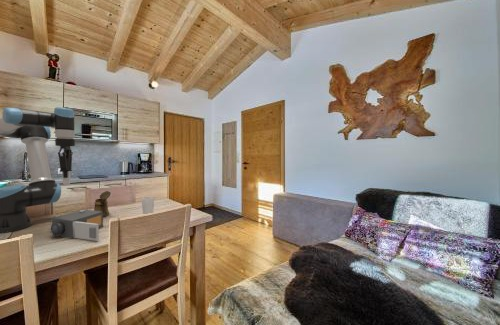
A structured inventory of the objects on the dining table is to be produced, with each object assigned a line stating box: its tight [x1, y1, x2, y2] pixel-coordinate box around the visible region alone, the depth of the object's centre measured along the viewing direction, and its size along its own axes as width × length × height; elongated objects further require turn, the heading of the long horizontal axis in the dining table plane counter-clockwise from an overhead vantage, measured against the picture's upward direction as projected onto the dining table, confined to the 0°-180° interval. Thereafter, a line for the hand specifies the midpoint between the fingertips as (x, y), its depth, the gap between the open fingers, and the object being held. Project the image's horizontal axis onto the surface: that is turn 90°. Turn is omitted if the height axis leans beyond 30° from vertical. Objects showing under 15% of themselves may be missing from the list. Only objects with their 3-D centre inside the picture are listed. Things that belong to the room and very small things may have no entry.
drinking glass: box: [141, 195, 155, 215], centre depth 128 cm, size 7×7×15 cm
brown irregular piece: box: [93, 190, 111, 218], centre depth 135 cm, size 9×14×18 cm, turn 57°
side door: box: [72, 221, 100, 242], centre depth 100 cm, size 2×15×8 cm, turn 78°
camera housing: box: [50, 208, 104, 239], centre depth 110 cm, size 14×19×10 cm
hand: (66, 183), depth 107 cm, fingers closed
